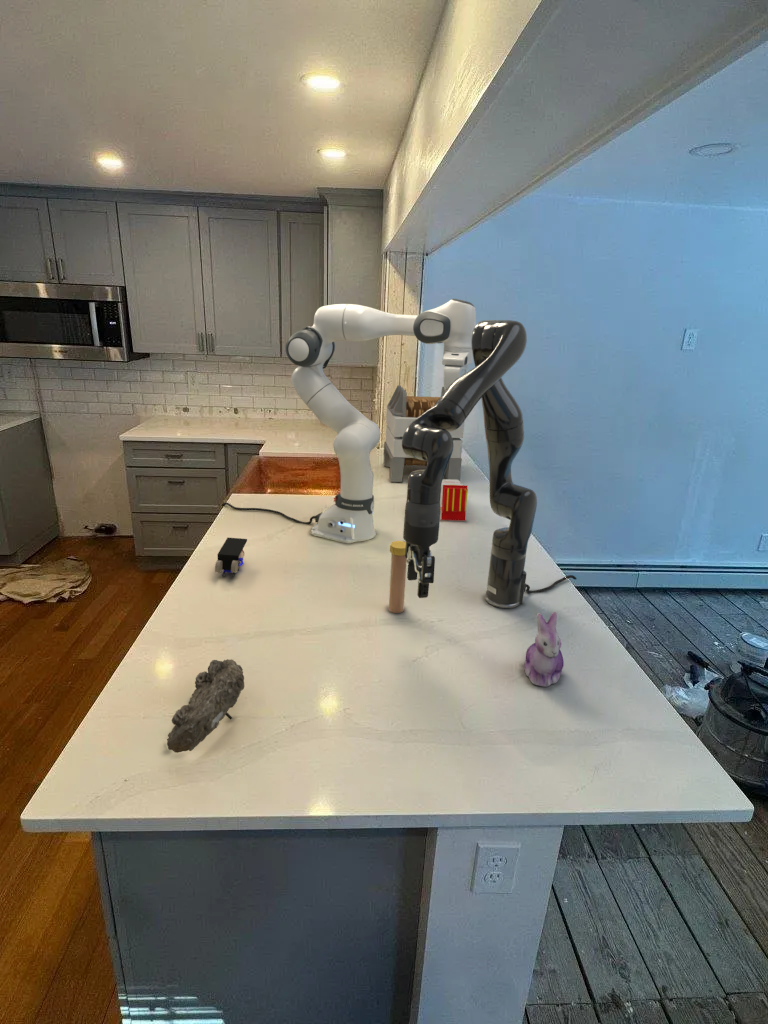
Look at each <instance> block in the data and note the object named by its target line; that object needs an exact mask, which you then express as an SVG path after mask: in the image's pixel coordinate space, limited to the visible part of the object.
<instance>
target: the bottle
mask: <svg viewBox="0 0 768 1024" xmlns="http://www.w3.org/2000/svg"><path fill="white" fill-rule="evenodd" d="M407 567H408V564H407V558H405V555H402V556H399V555H394V554H392V553H391V552H390V573H389V594H388V611H389V612H390V613H393V614H401V613H403V612H404V610H405V597H406V581H407Z"/></svg>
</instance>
